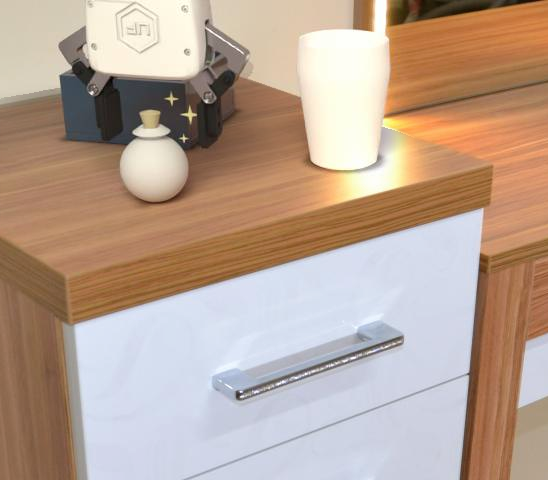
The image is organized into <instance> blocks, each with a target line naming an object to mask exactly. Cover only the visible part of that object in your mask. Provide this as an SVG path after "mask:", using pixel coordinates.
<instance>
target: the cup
mask: <svg viewBox="0 0 548 480" xmlns="http://www.w3.org/2000/svg"><path fill="white" fill-rule="evenodd" d="M296 57H297V60H296V75H297V76H296V77H297V82H298V89H299V95H300V102H301V107H302V108H301V109H302V114H303V121H304V126H305V132H306V139H307V146H308V151H309V152H308V153H309V158H310V161H311V162H312V163H313V164H314V165H315V166H318V167H320V168H322V169H327V170H333V171H355V170H362V169H365V168H368V167H371V166H372V165H374V164H375V163H377V160H378V155H379V148H380V142H381V137H382V130H383V123H384V117H385V110H386V104H387V97H388V93H389V92H388V91H389V86H390V85H389V84H390V77H391V56H390V38H389V37H388V36H387V35H385V34H382V33H379V32H376V31H370V30H361V29H347V28H346V29H341V28H339V29H324V30H323V29H322V30H316V31H311V32H307V33H304V34H302V35H300V36H299V37H298V38H297V56H296Z"/></svg>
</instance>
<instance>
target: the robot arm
mask: <svg viewBox="0 0 548 480" xmlns="http://www.w3.org/2000/svg"><path fill="white" fill-rule="evenodd" d="M84 1H85V3H84V4H85V5H84V8H85V9H84V10H85V11H84V13H85V14H84V15H85V25H83V26H82V27H81V28H79V29H78V30H76V31H75V32H73V33H72V34H70V35H68V36H67V37H66V38H64V39H62V40H61V41H59V43H58V50H59V51H60V53H61V54H62V56H63V57H64V59H65V60H66V62H67V63H68V65H69V66H71V69H72V71H73V73H74V74H75V75H76V76H77V77H78V78H79V79H80V80H81V81H82V82H83V83H84V84H85V86H86V87H87V91H88V93H89V94H90V95H92V96H94V102H95V112H96V121H97V126H98V128H100V129H101V138H102V141H110V140H112V139H113V138H114V137H116V136H117V135H119V134H120V133H122V132H123V121H122V111H121V100H120V92H119V91H118V88H114V82H115V80H116V79H117V77H131V78H146V79H162V80H187V79H188V80H189V82H190V83H191V85H192V86H193V87H194V89H195V90H196V91H197V93H198V94H199V95H200V97H201V102H199V103H198V104H197V107H196V109H197V125H198V140H199V141H198V146H199V148H201V149H206V150H208V149H209V148H210V147H211V146H213V145H214V144H215V143H216V142H217V141H218V140H219V137H220V136H222V133H223V121H222V111H221V96H222V95H224V94H225V92H226V91H227V90H228V89H229V88H230V87H231V86H232V85H233V84H234V85H235V83H236V82H237V81H238V80H239V79H240V76H241V74H242V72H243V71H244V69H245V67H246V65H247V64H248V61H249V60H250V58H251V52H250V50H249V49H248V48H246V47H245V46H243V45H242V44H240V43H239V42H238V41H236V40H234V39H233V38H232V37H230V36H229V35H227V34H226V33H224V32H223V31H222V30H220V29H218V28H217V27H216V26H214V22H213V14H212V7H211V0H84ZM84 46H86V53H87V56H86V54H85V52H84ZM215 50H216V51H218V52H219V53H221V54H222V55H224V56H225V57H226V58H227V65H226V67H225V69H224V71H223V73H222V74H221V75H220V76H219V77H218V76H217V74H216V73H215V72H214V70H213V69H212V68H211V65H212V64H213V63H214V59H215Z"/></svg>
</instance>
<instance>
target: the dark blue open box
mask: <svg viewBox="0 0 548 480" xmlns="http://www.w3.org/2000/svg"><path fill="white" fill-rule="evenodd" d="M226 65H227V58H226V57H225V56H224V55H222V54H221V53H219V52H218V51H216V50H215V59H214V63H213V64H212V65H211V68H212V69H213V70H214V72H215V73H216V74H217V76H218V77H219V76H220V75H221V74H222V73H223V71H224V69H225V67H226ZM58 77H59V85H60V95H61V104H62V113H63V119H64V128H65V129H64V130H65V137H66V138H65V139H66V140H69V141H81V142H92V143H93V142H94V143H105V144H106V143H107V144H118V145H128V144H129V143H130V142H132V141H133V140H134V139H136V138H138V136H136V135H134V134H133V133H132V132H133V130H135V129H136V128H138V127H139V126H140V125H142V124H143V122H142V119H141V116H140V114H139V113H140V112H142V111H145V110H157V111H160V117H159V122H158V123H159V124H161V125H163V126H165V127H167V128H168V129H170V132H169V133H168V134H166V135H165V136H167V137H169V138H171V139H173V140H174V141H175V142H177V143H178V144H179V145H180V147H181V148H182V149H183V150H184V149H185V150H189V149H191V148H192V147H194V146H195V145H196V144H197V143H199V140H198V125H197V116H193V117H192V121H191V124H190V120H189V117H188V116H184V115H180V114H185V113H188V112H189V105H190V108H191V111H192V113H194V114H197V109H196V107H197V104H198V103H199V102H201V97H200V95H199V94H198V93H197V91H196V90H195V89H194V87H193V86H192V85H191V83H190V82H189V80H188V79H187V80H162V79H146V78H131V77H117V79H116V80H115V82H114V88H118V91H119V92H120V100H121V111H122V121H123V132H122V133H120V134H119V135H117V136H116V137H114V138H113V139H112V140H110V141H102V138H101V129H100V128H98V126H97V121H96V112H95V102H94V96H92V95H90V94H89V93H88V91H87V87H86V86H85V84H84V83H83V82H82V81H81V80H80V79H79V78H78V77H77V76H76V75H75V74H74V73H73V71H72V68H70V69H68V70H66V71H65V72H62V73H60V74H59V75H58ZM171 93H172V96H173V98H177V100H173V104H172V105H171V101H170V100H167V99H165V98H170V95H171ZM235 98H236V97H235V83H234V84H233V85H232V86H231V87H230V88H229V89H228V90H227V91H226V92H225V94H224V95H222V96H221V111H222V122H224V121H225V120H226V119H227V118H229V117H230V116H231V115H232V114H234V113H235V112H236V101H235ZM183 134H184V136H185V138H189V139H185V142H184V141H183V139H179V138H183Z"/></svg>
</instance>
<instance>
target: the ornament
mask: <svg viewBox="0 0 548 480" xmlns="http://www.w3.org/2000/svg"><path fill="white" fill-rule="evenodd" d="M165 99H167V100H170V101H171V105H172V104H173V100H177V98H173V96H172V93H171V95H170V98H165ZM139 114H140V116H141V119H142V122H143V124H142V125H140V126H139V127H138V128H136V129H135V130H133V132H132V133H133V134H134V135H136V136H138V138H136V139H134V140H133V141H132V142H130V143H129V144H127V146H126V147H125V148H124V150H123V151H122V154H121V156H120V160H119V174H120V178H121V181H122V182H123V185H124V186H125V187H126V189H127V190H128V191H129V192H130V193H131V194H132V195H133V196H135V197H136V198H138V199H139V200H142V201H145V202H150V203H161V202H165V201H168V200H171V199H172V198H173V197H175V196H176V195H177V194H179V193H180V192H181V191H182V189H183V188H184V187H185V185H186V182H187V180H188V177H189V170H190V169H189V168H190V167H189V160H188V158H187V155H186V153H185V151H184V149H182V148H181V147H180V145H179V144H178V143H177V142H175V141H174V140H173V139H171V138H169V137H167V136H165V135H166V134H168V133H169V132H170V129H168V128H167V127H165V126H163V125H161V124H159V123H158V122H159V117H160V111H157V110H145V111H142V112H140V113H139ZM180 115H184V116H188V117H189V120H190V124H191V121H192V117H193V116H197V114H194V113H192V111H191V108H190V105H189V112H188V113H185V114H180ZM179 139H183V141H184V142H185V139H189V138H185V136H184V134H183V138H179Z"/></svg>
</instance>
